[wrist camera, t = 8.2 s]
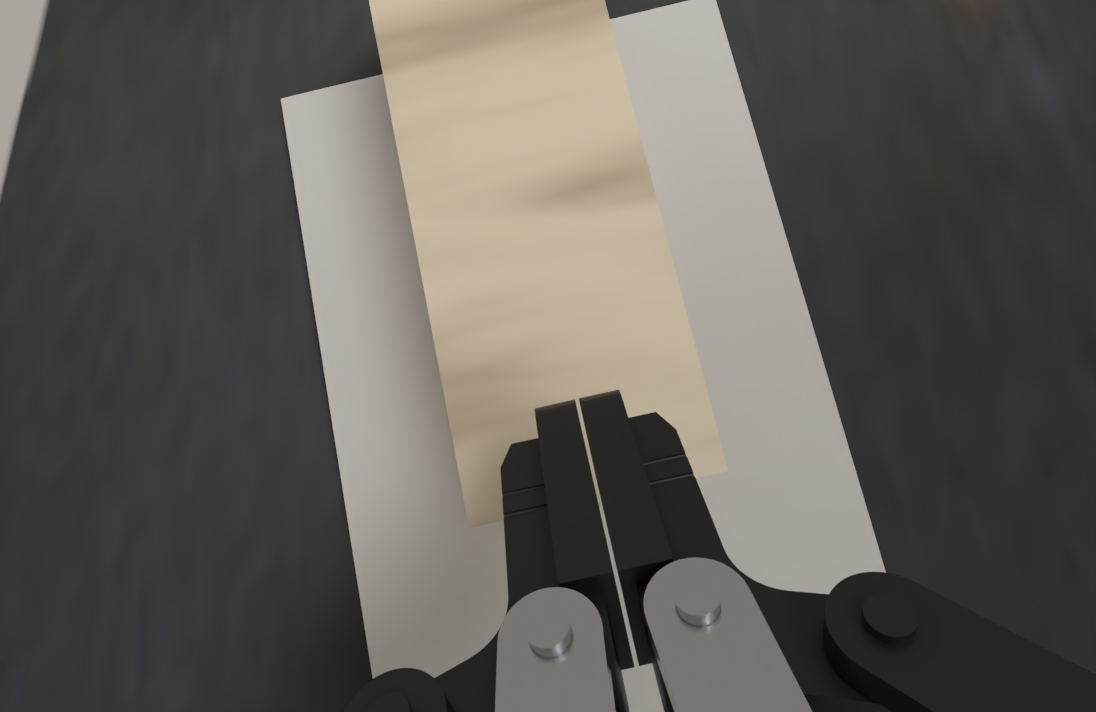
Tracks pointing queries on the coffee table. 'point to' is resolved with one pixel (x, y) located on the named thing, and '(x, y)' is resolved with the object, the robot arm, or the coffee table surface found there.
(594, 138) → the maple block
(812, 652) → the robot arm
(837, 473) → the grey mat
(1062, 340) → the coffee table surface
